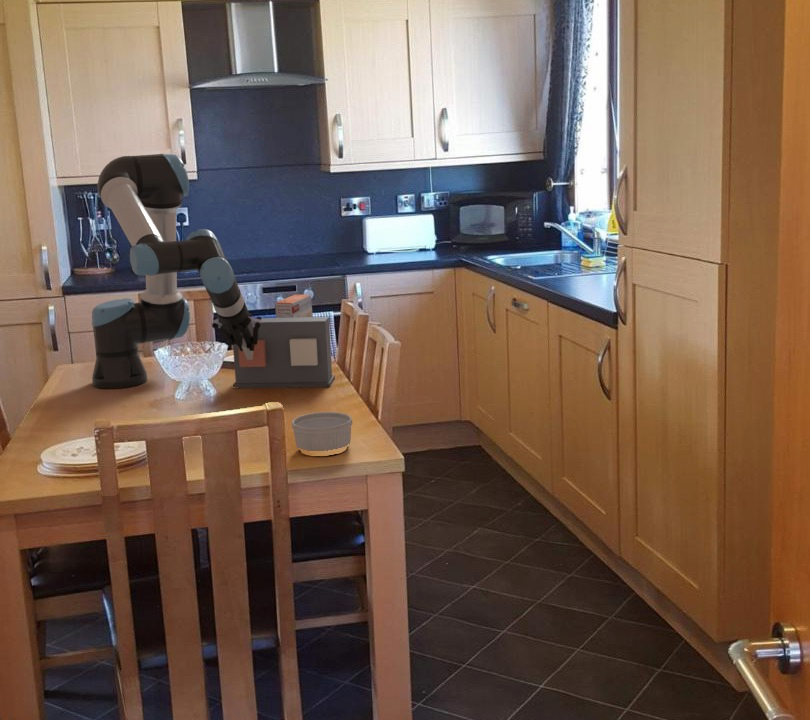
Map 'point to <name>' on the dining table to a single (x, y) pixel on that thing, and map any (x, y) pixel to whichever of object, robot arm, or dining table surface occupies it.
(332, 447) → the ramekin
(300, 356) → the cream button
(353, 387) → the dining table surface
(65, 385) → the dining table surface
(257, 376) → the box
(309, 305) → the cracker box
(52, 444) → the dining table surface
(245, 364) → the brick button
